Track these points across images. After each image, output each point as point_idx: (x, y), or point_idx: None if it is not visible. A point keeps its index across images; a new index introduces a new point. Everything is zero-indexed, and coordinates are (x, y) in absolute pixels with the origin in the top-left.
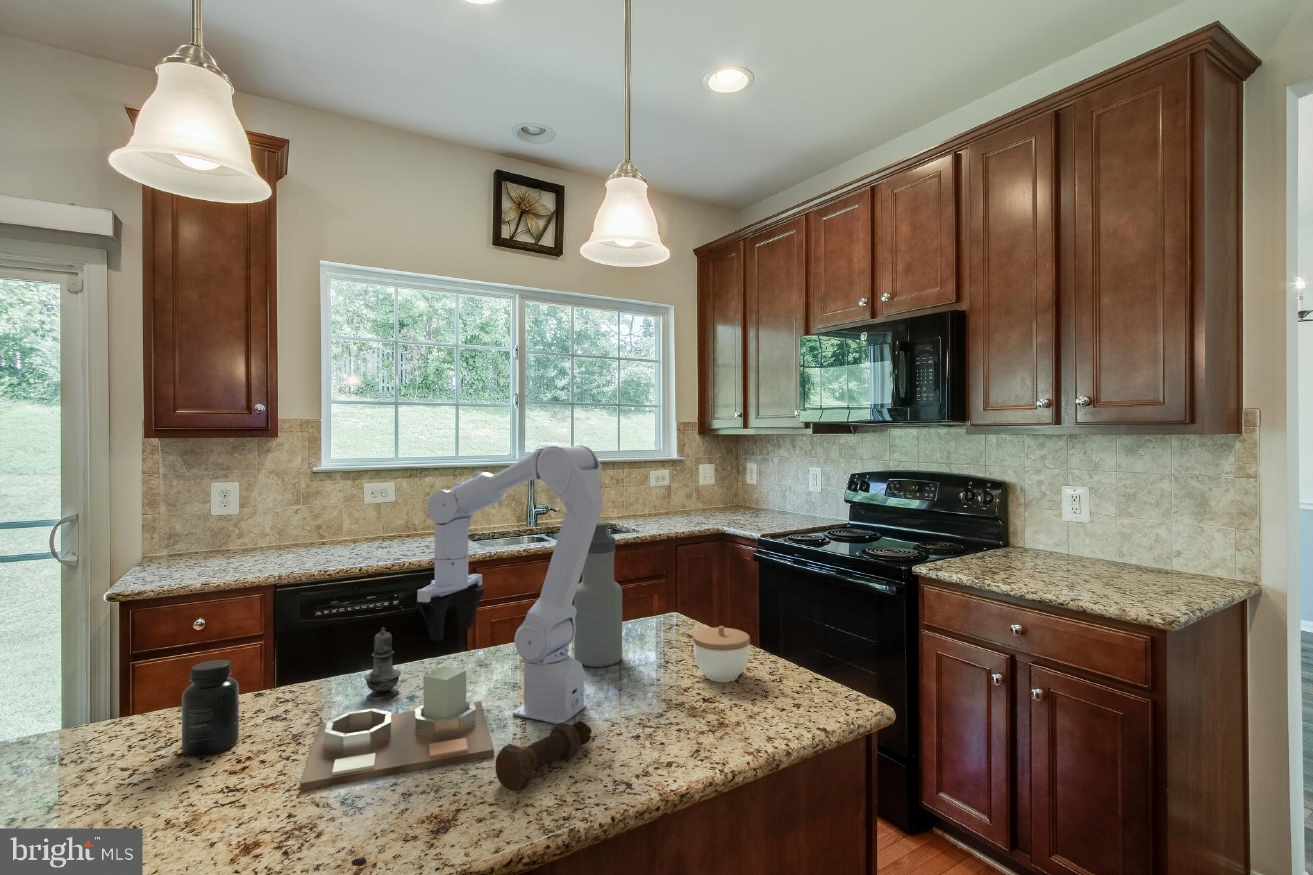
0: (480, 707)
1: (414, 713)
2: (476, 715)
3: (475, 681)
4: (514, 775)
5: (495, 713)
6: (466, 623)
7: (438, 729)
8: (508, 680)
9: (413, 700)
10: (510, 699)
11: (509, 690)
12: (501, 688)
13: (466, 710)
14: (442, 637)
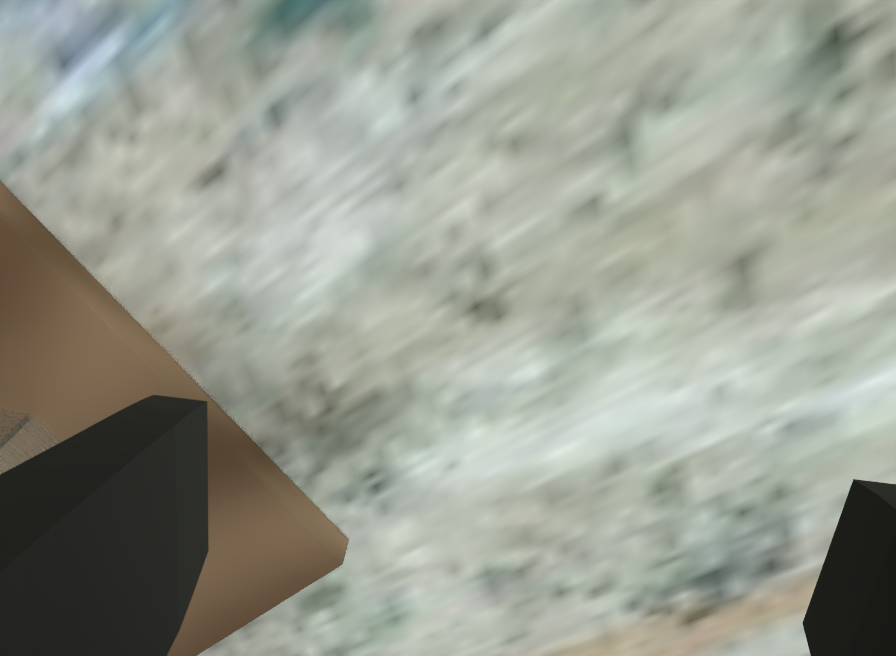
0: (259, 602)
1: (2, 284)
2: None
3: (762, 288)
4: None
5: (302, 643)
6: (846, 640)
7: None
8: (816, 500)
9: (281, 35)
10: (504, 637)
11: (638, 578)
12: (661, 520)
13: None
14: (190, 582)
